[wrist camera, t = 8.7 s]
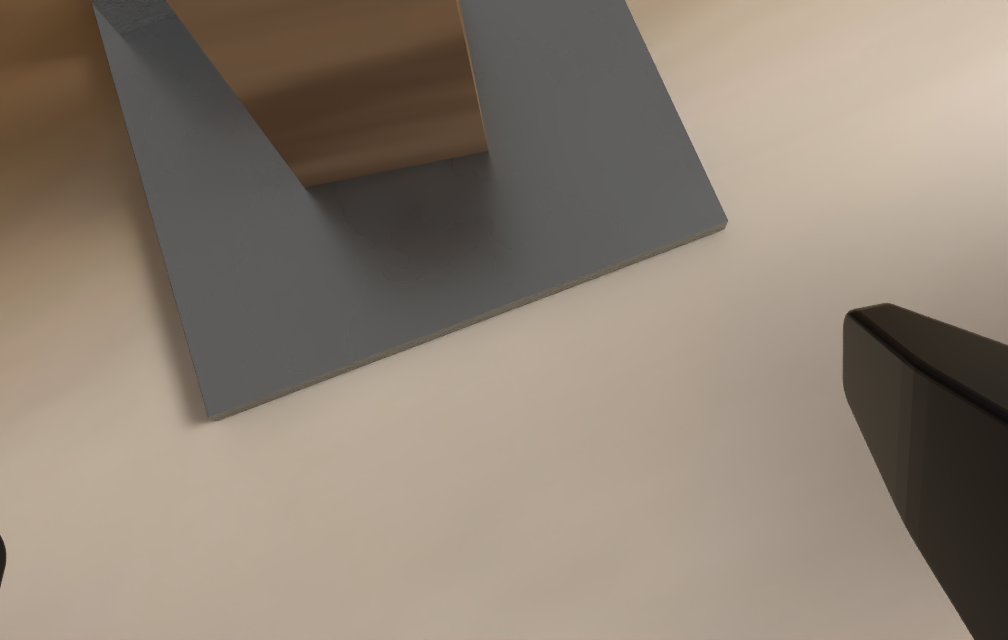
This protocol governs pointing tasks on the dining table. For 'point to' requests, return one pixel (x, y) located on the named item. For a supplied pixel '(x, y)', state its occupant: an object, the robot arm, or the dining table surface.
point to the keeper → (402, 196)
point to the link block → (346, 79)
